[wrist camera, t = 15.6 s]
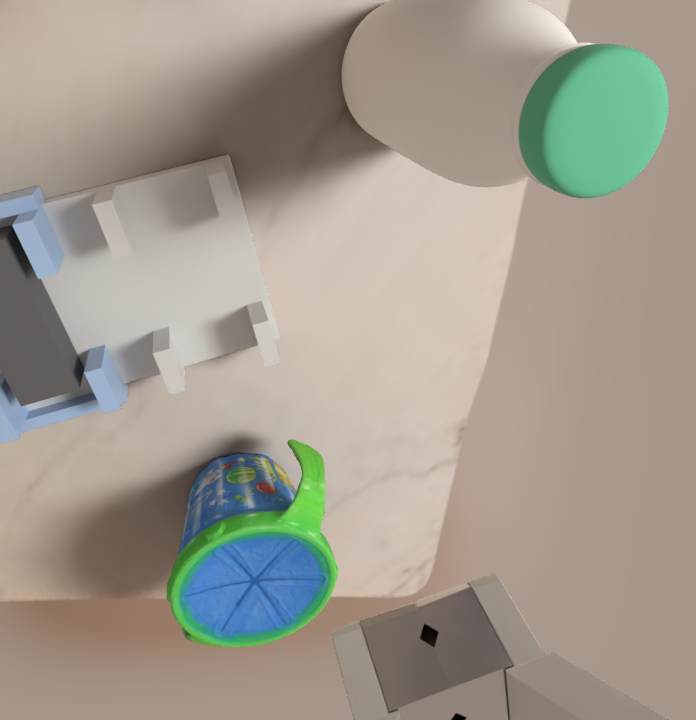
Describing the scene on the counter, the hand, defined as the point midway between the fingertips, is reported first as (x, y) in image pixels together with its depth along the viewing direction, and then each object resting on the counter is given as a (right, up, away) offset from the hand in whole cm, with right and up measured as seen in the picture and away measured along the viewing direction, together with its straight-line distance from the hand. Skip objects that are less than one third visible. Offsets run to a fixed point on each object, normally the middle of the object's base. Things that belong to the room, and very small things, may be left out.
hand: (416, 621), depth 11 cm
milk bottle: (+2, +21, +26) cm, 33 cm away
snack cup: (-9, -5, +37) cm, 39 cm away
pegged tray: (-16, +9, +27) cm, 33 cm away
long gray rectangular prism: (-20, +7, +26) cm, 33 cm away
